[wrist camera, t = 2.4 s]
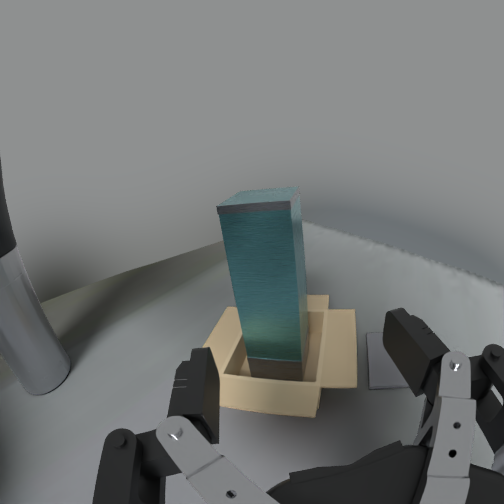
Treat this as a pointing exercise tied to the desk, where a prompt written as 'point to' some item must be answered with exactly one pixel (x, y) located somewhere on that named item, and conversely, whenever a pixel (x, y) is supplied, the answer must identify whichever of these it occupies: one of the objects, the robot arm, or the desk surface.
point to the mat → (382, 365)
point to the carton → (279, 391)
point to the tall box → (269, 279)
